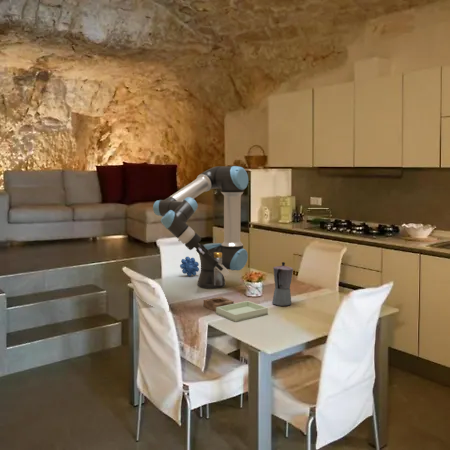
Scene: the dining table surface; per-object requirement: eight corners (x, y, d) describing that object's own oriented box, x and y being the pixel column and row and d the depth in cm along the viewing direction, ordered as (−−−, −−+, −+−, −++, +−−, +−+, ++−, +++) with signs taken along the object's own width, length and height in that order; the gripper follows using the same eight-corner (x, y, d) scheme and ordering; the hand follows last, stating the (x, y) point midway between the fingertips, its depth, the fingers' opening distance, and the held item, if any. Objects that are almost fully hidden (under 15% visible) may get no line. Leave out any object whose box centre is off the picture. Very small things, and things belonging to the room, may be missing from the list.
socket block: (220, 302, 237) (220, 296, 237) (233, 307, 229) (233, 301, 229) (203, 306, 231) (203, 300, 231) (215, 311, 223) (215, 305, 223)
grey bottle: (219, 283, 231) (218, 251, 229) (224, 285, 228) (223, 253, 226) (212, 284, 229) (212, 252, 227) (217, 286, 226) (216, 254, 224)
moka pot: (295, 301, 240) (295, 260, 238) (288, 309, 226) (289, 266, 224) (275, 299, 244) (276, 259, 241) (268, 307, 229) (268, 265, 227)
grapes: (181, 278, 287) (181, 258, 286) (179, 276, 294) (178, 256, 292) (201, 277, 291) (201, 257, 290) (198, 274, 298) (197, 255, 296)
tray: (247, 307, 230) (247, 300, 230) (267, 314, 219) (267, 307, 219) (216, 313, 220) (216, 307, 219) (235, 321, 208) (235, 315, 208)
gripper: (183, 241, 233) (219, 274, 237) (184, 247, 216) (222, 283, 220) (194, 229, 233) (229, 263, 237) (196, 235, 216) (234, 271, 220)
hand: (226, 273), depth 228 cm, fingers closed on grey bottle, 4 cm apart
